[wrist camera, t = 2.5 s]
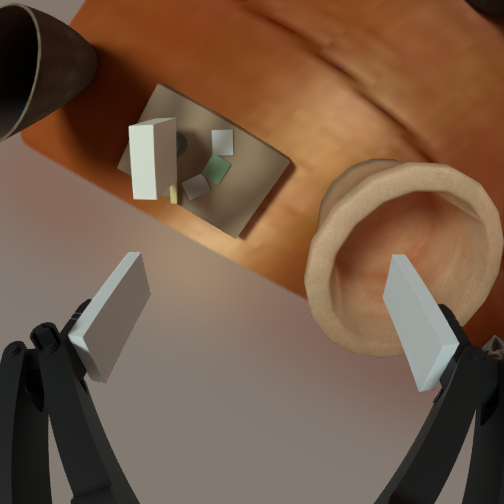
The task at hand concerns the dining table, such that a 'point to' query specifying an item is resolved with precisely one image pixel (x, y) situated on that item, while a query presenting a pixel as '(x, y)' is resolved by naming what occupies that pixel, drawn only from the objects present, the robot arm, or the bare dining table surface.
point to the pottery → (399, 248)
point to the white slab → (154, 158)
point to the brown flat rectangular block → (214, 161)
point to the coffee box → (494, 348)
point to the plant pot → (38, 66)
